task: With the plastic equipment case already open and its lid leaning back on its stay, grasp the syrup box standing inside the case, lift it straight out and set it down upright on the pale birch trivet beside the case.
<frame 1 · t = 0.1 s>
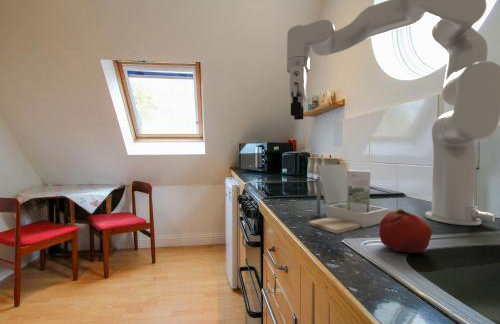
hand: (297, 117, 85), 31 cm above the worktop, tool pointing down, fingers open, 9 cm apart
case: (356, 219, 73), on the worktop
lid: (334, 183, 80), point 10 cm above the worktop, hinge at 108.0°
tomato: (402, 251, 50), on the worktop
trivet: (333, 226, 66), on the worktop
syrup box: (356, 219, 73), resting in case
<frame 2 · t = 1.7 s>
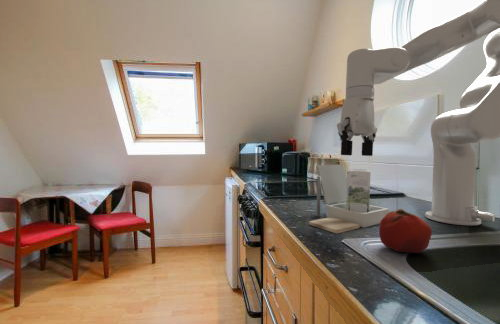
hand: (356, 155, 72), 19 cm above the worktop, tool pointing down, fingers open, 9 cm apart
nothing on the worktop moved.
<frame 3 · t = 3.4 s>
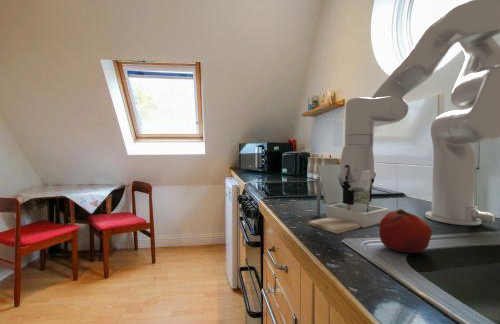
hand: (357, 202, 73), 5 cm above the worktop, tool pointing down, fingers closed on syrup box, 7 cm apart
syrup box: (356, 219, 73), resting in case, touching gripper
everything else where it was.
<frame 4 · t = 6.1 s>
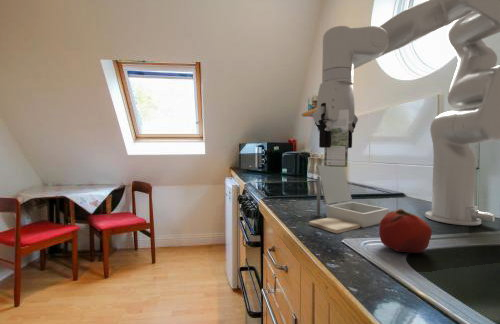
hand: (335, 147, 65), 21 cm above the worktop, tool pointing down, fingers closed on syrup box, 7 cm apart
syrup box: (335, 167, 65), point 16 cm above the worktop, touching gripper
everything else where it was.
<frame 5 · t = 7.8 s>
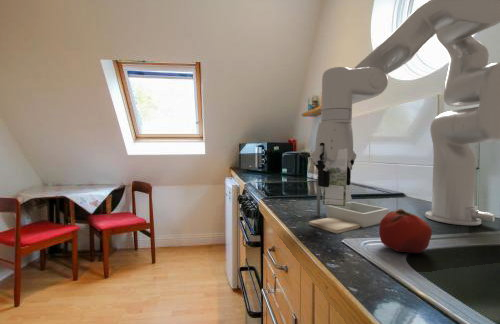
hand: (334, 185, 66), 11 cm above the worktop, tool pointing down, fingers closed on syrup box, 7 cm apart
syrup box: (333, 204, 66), point 6 cm above the worktop, touching gripper
everything else where it was.
when the fingers open (7 cm above the worktop, at t = 9.2 s): syrup box drops 1 cm, resting on trivet.
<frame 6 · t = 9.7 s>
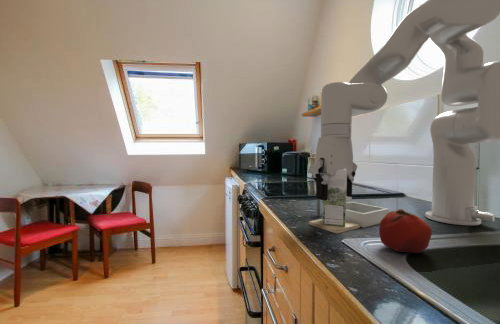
hand: (334, 197, 66), 8 cm above the worktop, tool pointing down, fingers open, 9 cm apart
syrup box: (333, 223, 66), point 1 cm above the worktop, touching trivet
everything else where it was.
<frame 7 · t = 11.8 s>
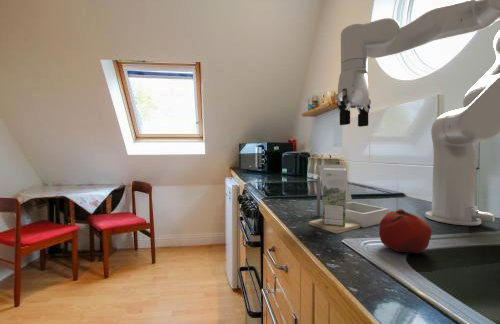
hand: (354, 125, 77), 28 cm above the worktop, tool pointing down, fingers open, 9 cm apart
nothing on the worktop moved.
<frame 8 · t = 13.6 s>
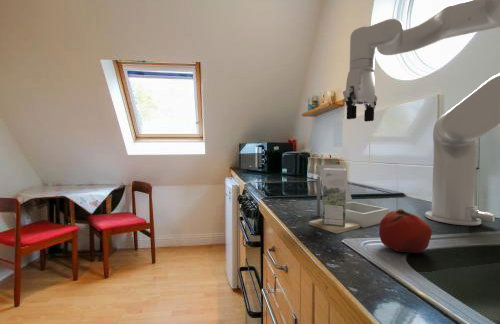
hand: (360, 120, 84), 30 cm above the worktop, tool pointing down, fingers open, 9 cm apart
nothing on the worktop moved.
at the end: syrup box inside the target area on the trivet (0.2 cm from its centre), point 0.6 cm above the trivet's base; syrup box tilted 0°; the gripper is holding nothing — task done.
